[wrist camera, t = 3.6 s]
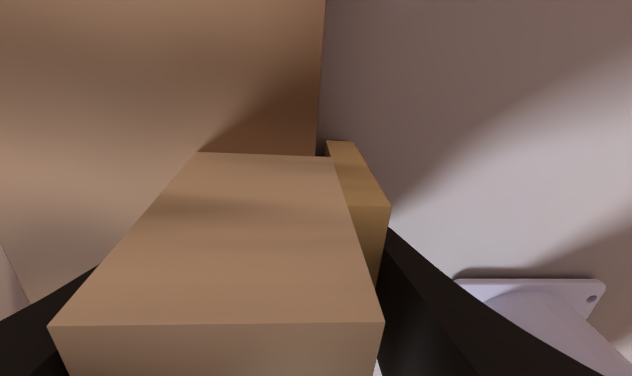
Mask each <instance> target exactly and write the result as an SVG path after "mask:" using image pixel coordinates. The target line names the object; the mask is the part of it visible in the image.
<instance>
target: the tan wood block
mask: <svg viewBox="0 0 632 376" xmlns="http://www.w3.org/2000/svg"><path fill="white" fill-rule="evenodd" d="M391 209H392V206H391V204H390V202H389V201H388V199H387V197H386V196H385V194H384V192H383V191H382V189H381V187H380V186H379V184H378V182H377V181H376V179H375V177H374V175H373V174H372V172H371V170H370V169H369V167H368V165H367V164H366V162H365V160H364V159H363V157H362V155H361V154H360V152H359V150H358V149H357V147H356V145H355V144H354V142H352V141H329V140H326V143H325V155H324V157H318V156H292V155H266V154H240V153H215V152H196V153H195V154H194V155H193V156H192V157H191V159H190V160H189V161H188V162H187V163H186V164H185V166H184V167H183V168H182V169H181V170H180V171H179V173H178V174H177V175H176V176H175V177H174V178H173V180H172V181H171V182H170V183H169V184H168V185H167V187H166V188H165V189H164V190H163V191H162V192H161V194H160V195H159V196H158V197H157V198H156V199H155V201H154V202H153V203H152V204H151V205H150V206H149V208H148V209H147V210H146V211H145V212H144V213H143V214H142V216H141V217H140V218H139V219H138V220H137V221H136V223H135V224H134V225H133V226H132V227H131V228H130V230H129V231H128V232H127V233H126V234H125V235H124V237H123V238H122V239H121V240H120V241H119V242H118V244H117V245H116V246H115V247H114V248H113V249H112V251H111V252H110V253H109V254H108V255H107V256H106V258H105V259H104V260H103V261H102V262H101V263H100V264H99V266H98V267H97V268H96V269H95V270H94V271H93V273H92V274H91V275H90V276H89V277H88V278H87V280H86V281H85V282H84V283H83V284H82V285H81V287H80V288H79V289H78V290H77V291H76V292H75V294H74V295H73V296H72V297H71V298H70V299H69V301H68V302H67V303H66V304H65V305H64V306H63V308H62V309H61V310H60V311H59V312H58V313H57V314H56V316H55V317H54V318H53V319H52V320H51V321H50V323H49V324H48V325H47V329H48V331H49V333H50V335H51V337H52V339H53V341H54V343H55V345H56V348H57V350H58V352H59V354H60V356H61V358H62V360H63V362H64V365H65V367H66V369H67V371H68V373H69V375H70V376H373V372H374V367H375V363H376V359H377V355H378V351H379V347H380V342H381V338H382V334H383V330H384V326H385V319H384V316H383V313H382V310H381V307H380V304H379V301H378V298H377V295H376V292H375V287H376V282H377V277H378V272H379V268H380V263H381V258H382V253H383V248H384V243H385V238H386V233H387V228H388V223H389V219H390V214H391Z"/></svg>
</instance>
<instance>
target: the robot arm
mask: <svg viewBox="0 0 632 376" xmlns="http://www.w3.org/2000/svg"><path fill="white" fill-rule="evenodd" d="M98 266H99V264H98V265H97V266H95V267H93V268H92V269H90V270H89V271H87V272H85V273H84V274H82V275H80V276H79V277H77V278H75V279H74V280H72V281H70V282H69V283H67V284H65V285H64V286H62V287H61V288H59V289H57V290H56V291H54V292H52V293H51V294H49V295H47V296H45V297H44V298H42V299H40V300H38V301H37V302H35V303H33V304H31V305H29V306H28V307H26V308H24V309H22V310H20V311H18V312H17V313H15V314H13V315H11V316H9V317H7V318H5V319H3V320H1V321H0V376H70V375H69V373H68V371H67V369H66V367H65V365H64V362H63V360H62V358H61V356H60V354H59V352H58V350H57V348H56V345H55V343H54V341H53V339H52V337H51V335H50V333H49V331H48V329H47V325H48V324H49V323H50V321H51V320H52V319H53V318H54V317H55V316H56V314H57V313H58V312H59V311H60V310H61V309H62V308H63V306H64V305H65V304H66V303H67V302H68V301H69V299H70V298H71V297H72V296H73V295H74V294H75V292H76V291H77V290H78V289H79V288H80V287H81V285H82V284H83V283H84V282H85V281H86V280H87V278H88V277H89V276H90V275H91V274H92V273H93V271H94V270H95V269H96V268H97V267H98ZM605 290H606V285H604V284H603V283H602V282H601V281H599V280H598V279H456V280H454V281H453V280H451V279H450V278H449V277H448V276H446V275H445V274H444V273H443V272H441V271H440V270H439V269H438V268H436V267H435V266H434V265H433V264H432V263H430V262H429V261H428V260H427V259H426V258H424V257H423V256H422V255H421V254H420V253H418V252H417V251H416V250H415V249H414V248H413V247H411V246H410V245H409V244H408V243H407V242H406V241H405V240H403V239H402V238H401V237H400V236H399V235H398V234H396V233H395V232H394V231H393V230H392V229H390V228H389V227H388V228H387V233H386V238H385V243H384V248H383V253H382V258H381V263H380V268H379V272H378V277H377V282H376V287H375V292H376V295H377V298H378V301H379V304H380V307H381V310H382V313H383V316H384V319H385V326H384V330H383V334H382V338H381V342H380V347H379V351H378V355H377V360H378V363H379V367H380V370H381V373H382V376H632V364H631V363H630V362H629V361H628V360H627V359H626V358H625V357H624V356H623V355H622V354H621V353H620V352H619V351H618V350H617V349H616V348H614V347H613V346H612V345H611V344H610V343H609V342H608V341H607V340H606V339H605V338H604V337H603V336H602V335H601V334H600V333H599V332H598V331H597V330H596V329H595V328H594V327H593V326H591V325H590V324H589V323H588V322H587V321H586V320H587V318H588V317H589V315H590V314H591V312H592V310H593V309H594V307H595V306H596V304H597V303H598V301H599V300H600V298H601V297H602V295H603V294H604V292H605Z"/></svg>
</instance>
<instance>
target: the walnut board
mask: <svg viewBox="0 0 632 376" xmlns="http://www.w3.org/2000/svg"><path fill="white" fill-rule="evenodd" d="M325 3H326V0H0V243H1V245H2V247H3V249H4V251H5V253H6V256H7V258H8V260H9V262H10V264H11V266H12V268H13V270H14V272H15V274H16V276H17V278H18V280H19V282H20V284H21V287H22V289H23V291H24V293H25V295H26V297H27V299H28V301H29V303H30V305H31V304H33V303H35V302H37V301H38V300H40V299H42V298H44V297H45V296H47V295H49V294H51V293H52V292H54V291H56V290H57V289H59V288H61V287H62V286H64V285H65V284H67V283H69V282H70V281H72V280H74V279H75V278H77V277H79V276H80V275H82V274H84V273H85V272H87V271H89V270H90V269H92V268H93V267H95V266H97V265H98V264H100V263H101V262H102V261H103V260H104V259H105V258H106V256H107V255H108V254H109V253H110V252H111V251H112V249H113V248H114V247H115V246H116V245H117V244H118V242H119V241H120V240H121V239H122V238H123V237H124V235H125V234H126V233H127V232H128V231H129V230H130V228H131V227H132V226H133V225H134V224H135V223H136V221H137V220H138V219H139V218H140V217H141V216H142V214H143V213H144V212H145V211H146V210H147V209H148V208H149V206H150V205H151V204H152V203H153V202H154V201H155V199H156V198H157V197H158V196H159V195H160V194H161V192H162V191H163V190H164V189H165V188H166V187H167V185H168V184H169V183H170V182H171V181H172V180H173V178H174V177H175V176H176V175H177V174H178V173H179V171H180V170H181V169H182V168H183V167H184V166H185V164H186V163H187V162H188V161H189V160H190V159H191V157H192V156H193V155H194V154H195V153H196V152H215V153H240V154H266V155H292V156H315V148H316V134H317V119H318V105H319V90H320V76H321V61H322V47H323V32H324V18H325Z"/></svg>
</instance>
